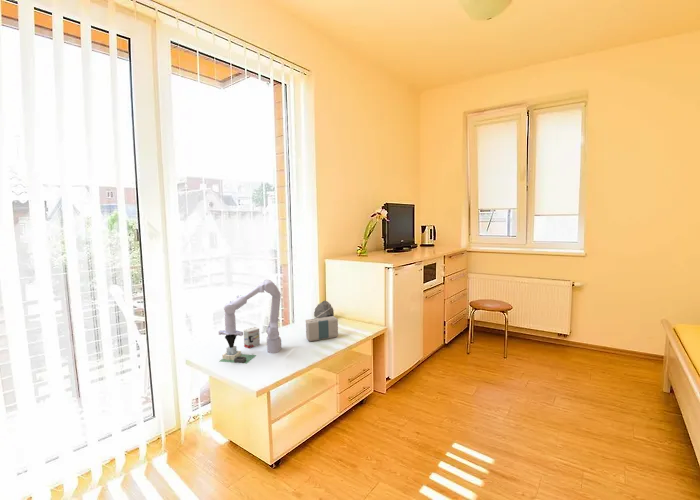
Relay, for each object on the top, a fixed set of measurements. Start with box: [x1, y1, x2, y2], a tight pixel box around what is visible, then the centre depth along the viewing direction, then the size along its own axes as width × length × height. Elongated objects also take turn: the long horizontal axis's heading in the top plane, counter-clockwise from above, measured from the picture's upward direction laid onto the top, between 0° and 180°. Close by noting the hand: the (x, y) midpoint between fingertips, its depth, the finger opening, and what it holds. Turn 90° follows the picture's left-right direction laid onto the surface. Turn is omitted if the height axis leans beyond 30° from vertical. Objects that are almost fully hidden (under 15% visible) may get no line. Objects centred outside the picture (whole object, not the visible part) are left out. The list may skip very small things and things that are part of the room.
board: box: [218, 353, 257, 364], centre depth 208 cm, size 12×17×1 cm
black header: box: [233, 356, 246, 364], centre depth 203 cm, size 5×4×2 cm
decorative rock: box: [313, 300, 335, 318], centre depth 285 cm, size 16×7×15 cm, turn 62°
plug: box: [226, 345, 238, 355], centre depth 209 cm, size 4×4×6 cm
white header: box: [221, 350, 242, 360], centre depth 209 cm, size 8×8×2 cm
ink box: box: [243, 326, 261, 349], centre depth 227 cm, size 9×5×12 cm, turn 137°
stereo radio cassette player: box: [305, 306, 339, 342], centre depth 241 cm, size 21×8×20 cm, turn 114°
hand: (231, 347), depth 209 cm, fingers closed
